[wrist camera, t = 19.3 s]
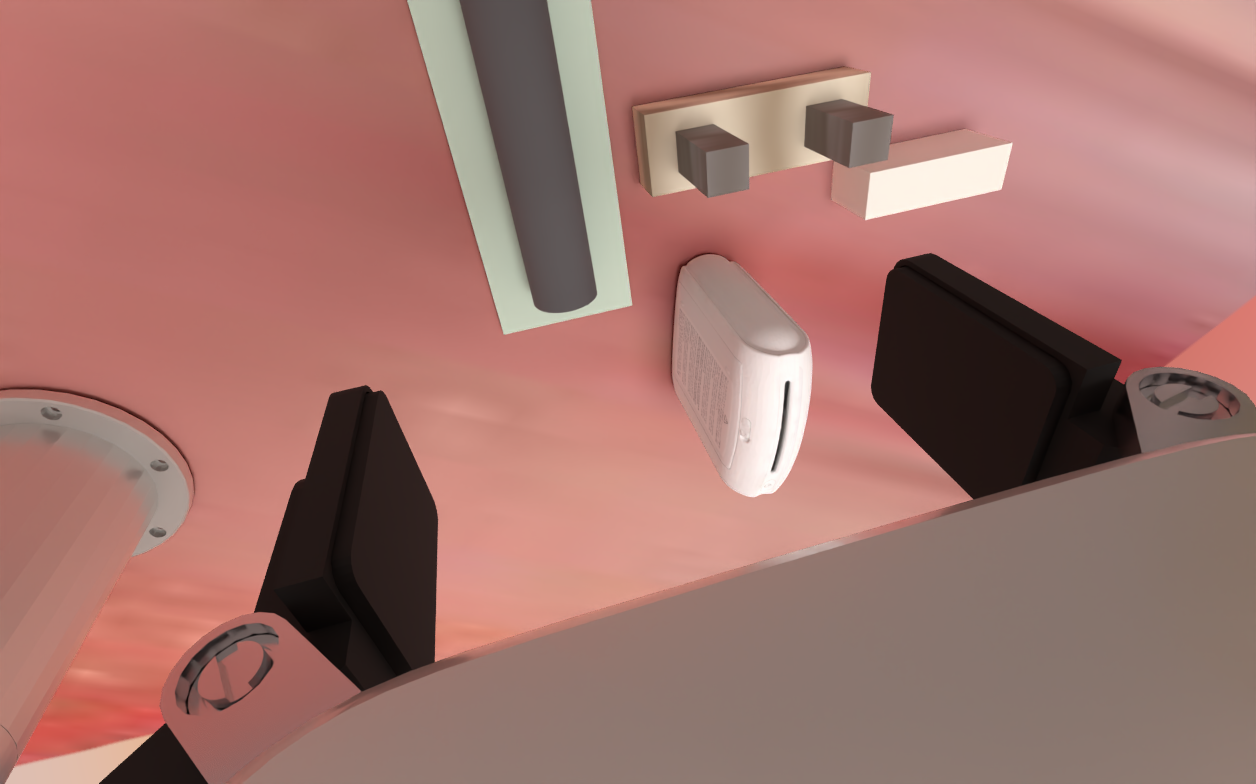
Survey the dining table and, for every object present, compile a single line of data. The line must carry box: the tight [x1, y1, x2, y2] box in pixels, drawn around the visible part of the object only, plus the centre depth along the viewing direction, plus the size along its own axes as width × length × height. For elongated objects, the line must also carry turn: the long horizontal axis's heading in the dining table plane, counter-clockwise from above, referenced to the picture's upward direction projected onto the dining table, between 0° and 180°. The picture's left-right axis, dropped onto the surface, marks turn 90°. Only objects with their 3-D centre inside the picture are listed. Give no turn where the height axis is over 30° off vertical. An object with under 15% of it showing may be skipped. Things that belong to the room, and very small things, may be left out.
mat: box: [407, 0, 632, 335], centre depth 30 cm, size 8×22×1 cm, turn 7°
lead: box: [459, 0, 597, 313], centre depth 28 cm, size 17×4×4 cm, turn 7°
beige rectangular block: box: [831, 129, 1013, 220], centre depth 35 cm, size 9×3×4 cm, turn 97°
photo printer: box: [672, 254, 812, 497], centre depth 35 cm, size 10×4×12 cm, turn 0°
